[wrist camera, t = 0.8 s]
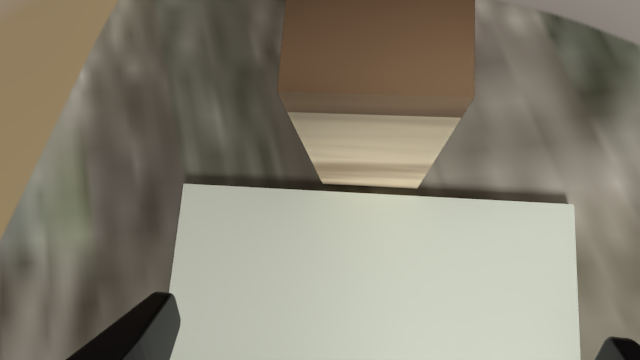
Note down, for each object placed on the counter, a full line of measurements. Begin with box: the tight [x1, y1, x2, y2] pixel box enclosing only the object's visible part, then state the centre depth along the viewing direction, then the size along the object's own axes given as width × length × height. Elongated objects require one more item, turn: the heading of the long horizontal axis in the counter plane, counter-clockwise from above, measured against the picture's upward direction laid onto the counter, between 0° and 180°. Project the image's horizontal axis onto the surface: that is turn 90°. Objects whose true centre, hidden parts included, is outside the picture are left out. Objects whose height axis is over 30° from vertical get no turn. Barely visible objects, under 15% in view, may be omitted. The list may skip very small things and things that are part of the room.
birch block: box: [277, 0, 475, 189], centre depth 18 cm, size 6×5×12 cm
